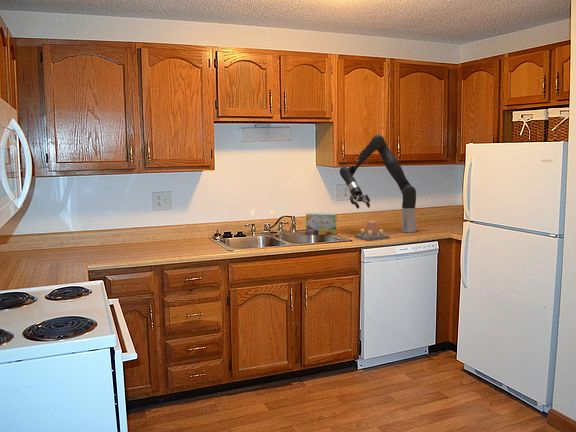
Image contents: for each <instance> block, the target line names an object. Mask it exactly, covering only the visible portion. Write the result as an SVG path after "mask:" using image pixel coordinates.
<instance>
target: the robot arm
mask: <svg viewBox="0 0 576 432" xmlns="http://www.w3.org/2000/svg"><path fill="white" fill-rule="evenodd" d="M376 151H377V152H378V153H379V155H380V157H381V160H382V162H383V164H384V166H385V169H386V170H387V172H388V173H389V175H390V176H391V177H392V178H393V180H394V181H395V183H396V184H397V186H398V188H399V190H400V192H401V194H402V204H401V232H402V233H416V232H417V218H416V203H417V190H416V188H415V187H414V186H412V184H411V183H410V182H409V180H408V179H407V177H406V175H405V173H404V170H403V167H402V166H401V165H400V162H399V161H398V160H397V158H396V156H395V155H394V154H393V152H391V150H390V149H389V147H388V145H387V142H386V140H385V138H384V137H383V135H381V134H375V135H373V136H372V138H371V140H370V141H369V143H368V144H367V145H366V146H365V148H363V150H361V151H360V152H361V153H360V152H359V153H360V156H359V162H358V163H357V165H356V166H352V167H350V166H349V167H348V166H341V167H340V169H339V174H340V176H341V178H342V179H343V181H344V182H345V184H346V186H347V188H348V191H349V193H350V196H349V198H348V199H349V201H350V203H351V205H354V206H355V208H356V209H358V210H359V209H360V205H359V202H360V203H361V202H362V203H364V204H365V205H366V207H367V208H368V209H370V207H371V204H370V202H371V199H370V197H369V195H368V194H365V195H364V194H363V191H362V189H361V187H360V185H359V184H358V182H357V180H356V179H355V177H354V175H355V173H356V171H357V169H359V167H360V166H362V165H363V164H364V162H365V161H366V160H368V158H369V157H371V155H372V154H373V153H374V152H376Z"/></svg>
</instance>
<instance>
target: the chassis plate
mask: <svg viewBox="0 0 576 432" xmlns="http://www.w3.org/2000/svg"><path fill="white" fill-rule="evenodd" d="M365 231H366V229H365V228H360V233H358V234H354V238H355V239H359V240H363V241H366V242H371V241H379V240H380V241H381V240H389V239H390V235H389V234H384V229H382V228H381V229H379V230H378V232H377V235H375V236H372V230H369V231H368V235H367V232H365Z"/></svg>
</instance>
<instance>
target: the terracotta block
mask: <svg viewBox="0 0 576 432" xmlns="http://www.w3.org/2000/svg"><path fill="white" fill-rule="evenodd" d="M369 230H372V236H375V235H377V233H378V221H374V220H371V221H370V220H369V221H366V233H367V235H368V231H369Z"/></svg>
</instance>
